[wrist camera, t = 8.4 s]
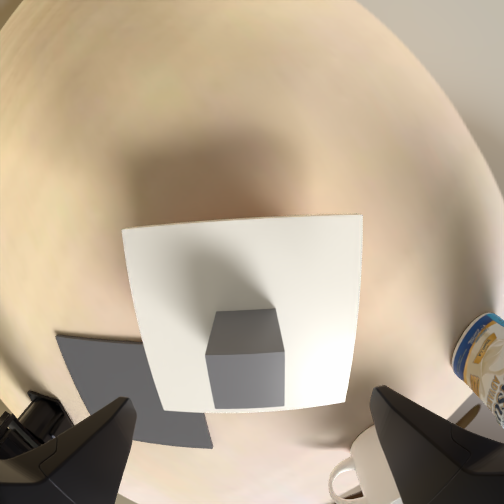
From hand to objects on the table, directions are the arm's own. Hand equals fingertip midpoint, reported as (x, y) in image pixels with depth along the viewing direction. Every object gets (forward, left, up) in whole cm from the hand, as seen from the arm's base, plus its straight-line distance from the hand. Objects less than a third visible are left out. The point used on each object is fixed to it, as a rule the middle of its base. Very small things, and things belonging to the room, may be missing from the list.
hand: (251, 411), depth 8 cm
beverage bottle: (+25, -9, -12) cm, 29 cm away
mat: (-12, -11, -12) cm, 20 cm away
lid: (0, 0, -7) cm, 7 cm away
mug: (+13, -21, -12) cm, 27 cm away
